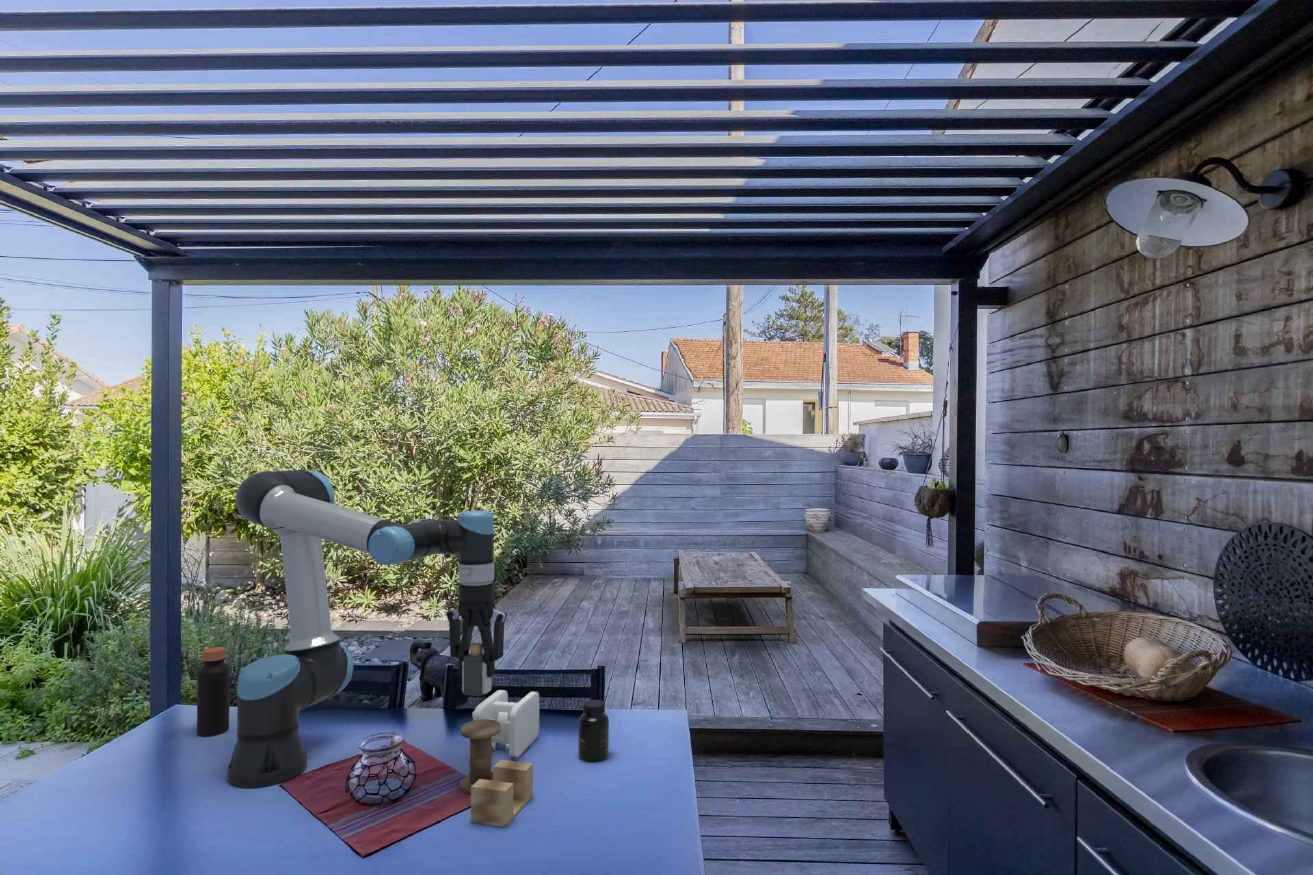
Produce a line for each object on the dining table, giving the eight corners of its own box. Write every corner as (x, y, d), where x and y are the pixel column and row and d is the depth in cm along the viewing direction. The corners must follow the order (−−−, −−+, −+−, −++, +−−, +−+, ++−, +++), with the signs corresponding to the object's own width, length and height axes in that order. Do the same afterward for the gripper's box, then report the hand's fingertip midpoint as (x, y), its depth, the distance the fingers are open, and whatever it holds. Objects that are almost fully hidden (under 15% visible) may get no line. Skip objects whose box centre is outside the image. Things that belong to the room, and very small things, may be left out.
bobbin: (453, 791, 145) (453, 731, 146) (472, 774, 153) (472, 717, 153) (489, 796, 143) (489, 735, 144) (507, 778, 151) (507, 721, 151)
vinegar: (199, 728, 178) (200, 647, 178) (230, 724, 180) (231, 644, 181) (194, 738, 171) (195, 654, 172) (227, 734, 174) (228, 651, 175)
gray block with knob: (463, 694, 154) (463, 645, 154) (472, 688, 158) (472, 641, 158) (480, 696, 153) (480, 646, 153) (489, 690, 157) (489, 642, 157)
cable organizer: (514, 764, 158) (514, 711, 158) (470, 760, 160) (470, 707, 160) (540, 737, 173) (540, 689, 173) (499, 734, 175) (499, 686, 175)
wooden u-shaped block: (470, 822, 133) (471, 786, 133) (500, 792, 145) (500, 759, 145) (505, 827, 132) (505, 791, 132) (532, 796, 143) (532, 763, 143)
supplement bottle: (572, 759, 160) (573, 705, 161) (587, 748, 167) (587, 696, 167) (600, 764, 158) (600, 710, 158) (613, 752, 164) (614, 700, 164)
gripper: (431, 584, 154) (432, 693, 154) (504, 587, 150) (505, 699, 149) (450, 577, 161) (450, 682, 161) (520, 580, 157) (520, 688, 157)
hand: (476, 690), depth 155 cm, fingers closed on gray block with knob, 4 cm apart
